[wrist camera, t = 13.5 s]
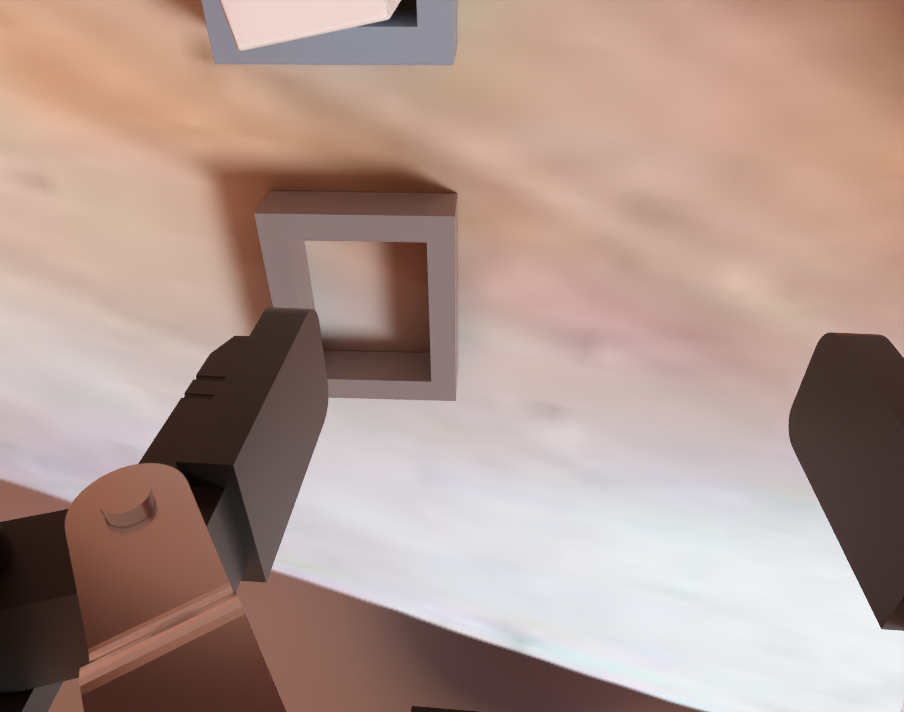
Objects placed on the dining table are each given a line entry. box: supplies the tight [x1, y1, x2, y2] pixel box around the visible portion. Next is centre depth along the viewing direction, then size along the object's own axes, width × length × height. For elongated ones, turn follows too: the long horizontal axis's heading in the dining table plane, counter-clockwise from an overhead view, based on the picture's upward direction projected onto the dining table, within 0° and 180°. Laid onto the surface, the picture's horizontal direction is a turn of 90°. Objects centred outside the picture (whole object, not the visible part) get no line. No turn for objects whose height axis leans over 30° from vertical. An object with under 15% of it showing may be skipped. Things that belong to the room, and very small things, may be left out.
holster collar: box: [254, 191, 458, 401], centre depth 38 cm, size 10×12×3 cm
